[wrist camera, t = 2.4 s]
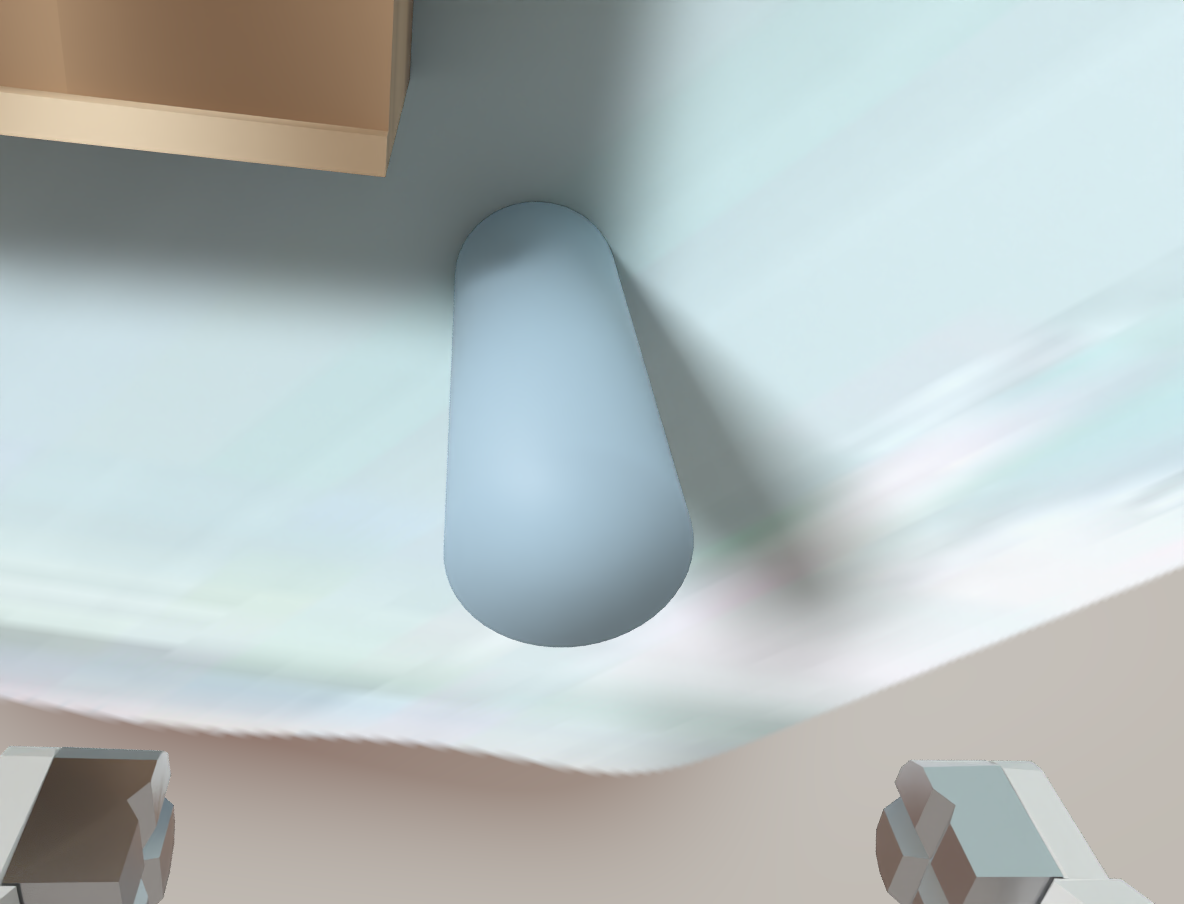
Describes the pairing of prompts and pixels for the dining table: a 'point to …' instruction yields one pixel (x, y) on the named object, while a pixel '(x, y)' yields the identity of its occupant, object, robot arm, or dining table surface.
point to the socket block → (211, 77)
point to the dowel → (555, 440)
